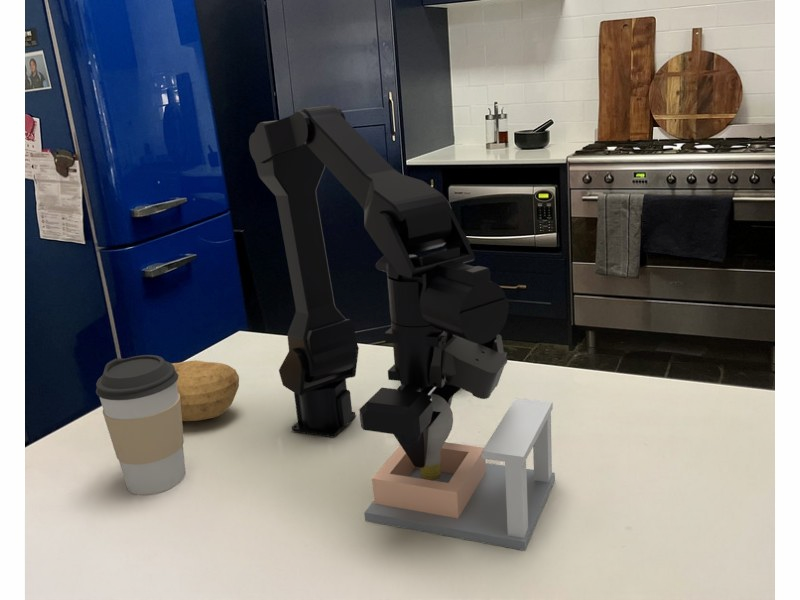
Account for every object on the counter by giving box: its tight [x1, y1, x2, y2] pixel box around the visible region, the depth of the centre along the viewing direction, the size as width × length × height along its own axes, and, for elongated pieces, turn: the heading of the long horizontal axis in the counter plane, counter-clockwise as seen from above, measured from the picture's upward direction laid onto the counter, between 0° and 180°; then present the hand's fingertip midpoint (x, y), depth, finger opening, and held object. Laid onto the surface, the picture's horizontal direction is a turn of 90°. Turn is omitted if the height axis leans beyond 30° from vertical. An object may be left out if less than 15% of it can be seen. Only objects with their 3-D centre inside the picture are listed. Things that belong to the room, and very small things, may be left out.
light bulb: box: [421, 393, 454, 481], centre depth 82 cm, size 5×6×10 cm
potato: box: [170, 359, 240, 422], centre depth 106 cm, size 10×14×8 cm
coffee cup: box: [95, 354, 186, 496], centre depth 90 cm, size 9×9×15 cm
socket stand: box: [363, 397, 556, 551], centre depth 81 cm, size 17×13×10 cm
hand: (428, 454), depth 82 cm, fingers closed on light bulb, 5 cm apart
